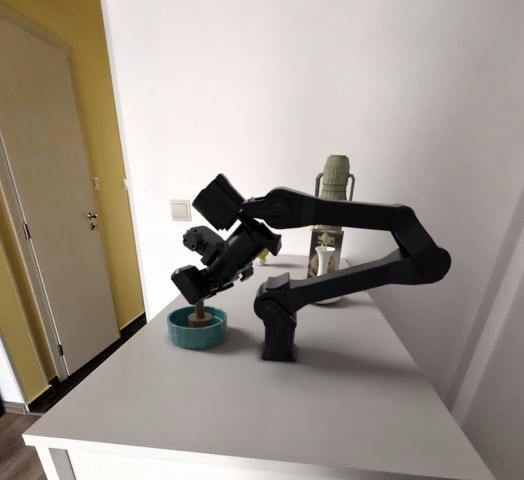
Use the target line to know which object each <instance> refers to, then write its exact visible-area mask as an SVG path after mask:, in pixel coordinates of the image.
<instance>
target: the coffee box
mask: <svg viewBox="0 0 524 480" xmlns="http://www.w3.org/2000/svg"><path fill="white" fill-rule="evenodd" d="M326 230H327V234H328V236H329V238H330V239H331V242H330V243H328V244H327V247H332V248H334V249H335V251H334V252H333V253H332V255H331V257H330V259H329V263H328V267H327V273H330V272H334V271H337V270H339V268H340V261H341V255H342V248H343V241H344V236H345V230H342V231H340V230H328V229H326ZM324 233H325V229H317V227H315V228H314V229H313V230H312V231H311V236H310V245H309V246H310V247H309V253H308V262H307V270H306V272H307V273H306V279H307V278H311V277H315V276H317V274H318V270H319V256H318V252H317V250H316V247H321V245H322V244H323V240H322V239H321V237H322V235H323V234H324ZM325 245H326V244H325V243H324V245H323V247H325Z"/></svg>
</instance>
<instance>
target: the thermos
mask: <svg viewBox="0 0 524 480" xmlns="http://www.w3.org/2000/svg"><path fill="white" fill-rule="evenodd" d="M350 169H351V165H350V158H349V156H347V155H345V154H330V155H329V156H327V158H326V160H325V163H324V166H323V171H322V172H320V173H318V174H317V175H316V177H315V187H314V196H316V197H320V198H325V199H336V200H348V201H353V197H354V191H355V184H356V178H355V175H354V174H353V173H350V171H351V170H350ZM349 178H350V179H351V185H350V191H349V192H350V193H349V197H347V188H348V185H349ZM321 179H322V181H321ZM321 182H322V188H321ZM320 188H321V190H320ZM320 191H321V192H320ZM325 226H326V229H328V230H340V231H343V230H342V229H343V227H338V226H327V225H325ZM316 228H317V229H325V228H324V225H317V226H316Z"/></svg>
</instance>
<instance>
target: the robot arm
mask: <svg viewBox="0 0 524 480" xmlns="http://www.w3.org/2000/svg"><path fill="white" fill-rule="evenodd" d="M191 207H193V209H195V210H196V212H197V213H198V214H199V215H201V216H202V217H203V218H204V219H205V220H206V222H208V223H209V224H210V225H211V226H212V227H213V228H214V229H215V230H216V231H217V232H219V231H220V230H221V231H222V232H223V231H225V232H229V231H230V230H231V229H232V227H233V226H235V224H236V223H237V222H238V221H239V222H240V223H239V225H238V226H237V227H236V228H235V229H234V230H233V231H232V232H231V233H230V235H229V236H228V237H226V239H224V238H223V236H221V235H220V234H218V233H217V232H216V231H214V230H213V229H212V228H210V227H209V226H207V225H197V226H192V227H190V228H189V229H187V230H186V232H185V233H183V234H182V244H183V246H184V247H185V248H186V249H188V250H189V251H190V252H192V253H193V252H195V253H197V254H198V255H199V256H200V257H201V258H200V259H199V261H200V263H201V264H202V265H203V266H205V267H204V268H201V269H199V268H198V267H197V266H196V265H194V264H187V265H185V266H181V267H179V268H175V270H174V271H173V272H172V273H171V275H170V280H171V282H172V283H173V284H174V286H175V288H176V289H177V290H178V291H179V292H180V294H181V295H182V296H183V298H184V300H186V302H187V303H188V304H189V305H190V306H195V305H196V304H198V303H200V302H202V301H204V302H205V301H206V300H208V299H211V298H213V297H215V296H217V295H218V294H219V293H221V292H224V291H228V290H229V289H231V288H234V287H235V283H234V282H236V281H238V280H239V281H240V282H241V283H244V282H245V281H248V280H249V279H250V278H252V276H253V275H254V272H255V271H254V269H255V268H254V263H253V262H254V261H255V260H257V259H258V256H259V255H260V254H261V253H262V252H263V251H264V250H265V249H267V250H268V251H269V254H271V255H272V256H273V257H277V256H278V254H279V253H280V251H281V249H282V247H283V244H282V238H283V235H282V233H275V232H274V231H272V230H271V229H274V230H278V231H279V230H281V231H282V230H292V229H300V228H308V227H309V226H313V225H327V226H338V227H342V228H347V229H348V228H349V229H358V230H359V229H361V230H371V231H380V232H381V231H383V232H390V234H391V236H392V238H393V240H394V242H395V243H396V245H397V247H398V248H396V249H394V250H393V251H392V252H390V253H389V254H387V255H386V256H383V257H382V258H378V259H375V260H370V261H368V262H364V263H360V264H357V265H353V266H352V265H351V266H349V267H344V268H341V269H338V270H337V271H334V272H330V273H326V274H322V275H319V276H315V277H311V278H307V277H306V278H304V279H293V278H291V274H290V273H291V272H289V271H287V272H284V273H282V274H279V275H277V276H268V277H267V279H266V281H264V282H262V283H261V284H260V285H259V286H258V288H257V291H256V294H255V297H254V300H253V305H252V308H253V312H254V314H255V316H256V317H257V318H258V319H259V320H261V321H262V324H263V327H264V340H263V341H262V348H261V353H260V359H261V360H268V361H284V362H295V361H296V359H297V356H296V355H297V354H296V343H295V336H296V329H297V326H298V311H300V310H302V309H303V308H305V307H306V306H308V305H312V304H318V303H317V302H321V301H325V300H329V299H333V298H336V297H340V296H341V297H343V296H344V297H345V296H348V295H352V294H356V293H360V292H364V291H367V290H368V291H369V290H372V289H377V288H380V287H385V286H388V285H398V286H399V285H400V286H422V285H423V286H424V285H432V284H436V283H439V282H440V281H442V280H444V278H445V277H446V276H447V274H448V273H449V271H450V270H451V267H452V256H451V254H450V253H449V251H448V250H447V249H445V248H444V247H442V246H440V245H439V244H436V242H435V240H434V239H433V237H432V236H431V235H430V234H429V232H428V230H427V229H426V228H425V227H424V225H423V224H422V223H421V222H420V219H419V218H418V216H417V215H416V213H415V210H414V209H413V208H412V207H411V206H409V205H405V204H403V203H398V202H397V203H392V204H391V203H379V202H368V201H358V200H357V201H356V200H352V201H349V199H347V200H336V199H325V198H320V196H319V197H316V196H315V195H313V194H310V193H307V192H304V191H301V190H297V189H294V188H290V187H287V186H283V185H282V186H275V187H273V188H272V189H270V190H269V191H268V192H267V193H266V194H265V195H263V196H257V197H254V196H251V197H250V198H245V197H244V196H243V195H242V193H240V191H238V190H237V189H236V187H234V185H233V184H232V183H231V181H230V180H229V178H228V177H227V176H226V175H225V174H224V173H223V172H222V173H221V172H220V173H218V174H217V175H216V176H215V177H214V178H213V179H212V180H211V181H210V182H209V183H207V185H206V186H205V188H202V189H201V190H200V191H199V192H198V193H197V195H196V196H195V198H194V199H193V201H192V203H191ZM258 220H262V221H258ZM270 228H271V229H270ZM240 275H241V276H240Z"/></svg>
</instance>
